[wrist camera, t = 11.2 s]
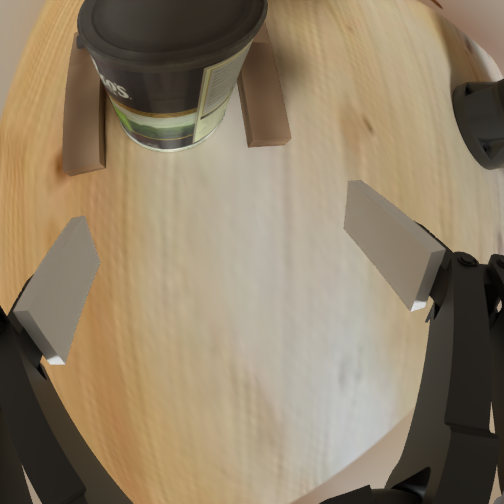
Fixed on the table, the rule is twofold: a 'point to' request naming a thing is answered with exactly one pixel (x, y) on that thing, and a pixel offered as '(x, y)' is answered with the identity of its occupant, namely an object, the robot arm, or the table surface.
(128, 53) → the coffee can
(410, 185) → the table surface
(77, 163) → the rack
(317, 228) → the table surface
